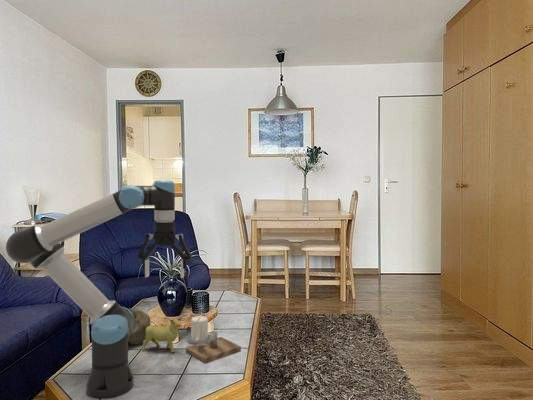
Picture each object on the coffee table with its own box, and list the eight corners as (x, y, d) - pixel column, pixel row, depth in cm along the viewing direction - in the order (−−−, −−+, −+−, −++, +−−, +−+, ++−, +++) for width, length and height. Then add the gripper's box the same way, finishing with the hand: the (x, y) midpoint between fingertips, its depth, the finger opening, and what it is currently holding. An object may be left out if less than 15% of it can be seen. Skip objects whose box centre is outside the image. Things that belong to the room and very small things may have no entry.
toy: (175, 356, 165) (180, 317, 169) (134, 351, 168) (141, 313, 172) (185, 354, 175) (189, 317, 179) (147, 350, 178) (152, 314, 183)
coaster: (195, 346, 178) (195, 344, 178) (182, 339, 186) (182, 337, 186) (216, 340, 186) (216, 338, 186) (202, 333, 194) (202, 331, 194)
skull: (100, 317, 171) (133, 324, 168) (128, 298, 192) (158, 304, 190) (98, 352, 173) (131, 359, 170) (126, 329, 195) (156, 335, 192)
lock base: (205, 363, 162) (205, 343, 162) (186, 352, 172) (185, 333, 172) (240, 351, 174) (240, 332, 174) (220, 341, 184) (221, 323, 184)
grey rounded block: (193, 335, 190) (193, 315, 189) (208, 335, 190) (208, 315, 189) (189, 342, 181) (189, 321, 181) (205, 342, 181) (205, 321, 181)
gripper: (199, 220, 160) (199, 275, 161) (135, 220, 161) (135, 274, 162) (195, 222, 152) (195, 279, 153) (128, 221, 153) (128, 278, 154)
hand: (164, 276), depth 158 cm, fingers open, 13 cm apart
